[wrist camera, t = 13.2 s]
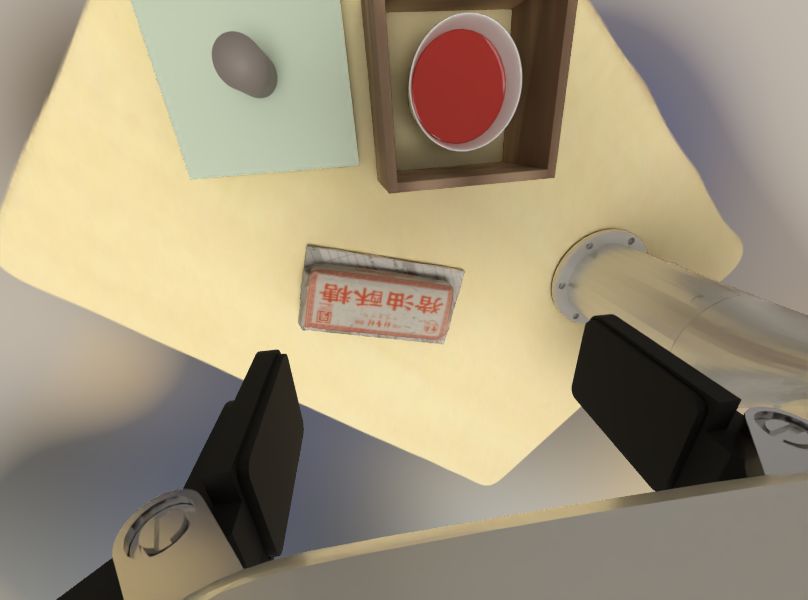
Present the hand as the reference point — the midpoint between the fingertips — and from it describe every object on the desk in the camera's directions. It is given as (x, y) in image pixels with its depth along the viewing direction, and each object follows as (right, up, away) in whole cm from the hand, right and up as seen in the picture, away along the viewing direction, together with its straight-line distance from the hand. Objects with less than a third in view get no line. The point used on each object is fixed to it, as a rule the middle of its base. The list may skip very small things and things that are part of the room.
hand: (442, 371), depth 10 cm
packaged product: (-4, +3, +29) cm, 30 cm away
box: (+3, +21, +21) cm, 30 cm away
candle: (+3, +21, +21) cm, 30 cm away
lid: (-13, +21, +17) cm, 30 cm away
